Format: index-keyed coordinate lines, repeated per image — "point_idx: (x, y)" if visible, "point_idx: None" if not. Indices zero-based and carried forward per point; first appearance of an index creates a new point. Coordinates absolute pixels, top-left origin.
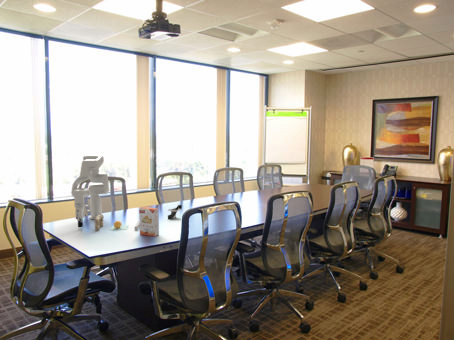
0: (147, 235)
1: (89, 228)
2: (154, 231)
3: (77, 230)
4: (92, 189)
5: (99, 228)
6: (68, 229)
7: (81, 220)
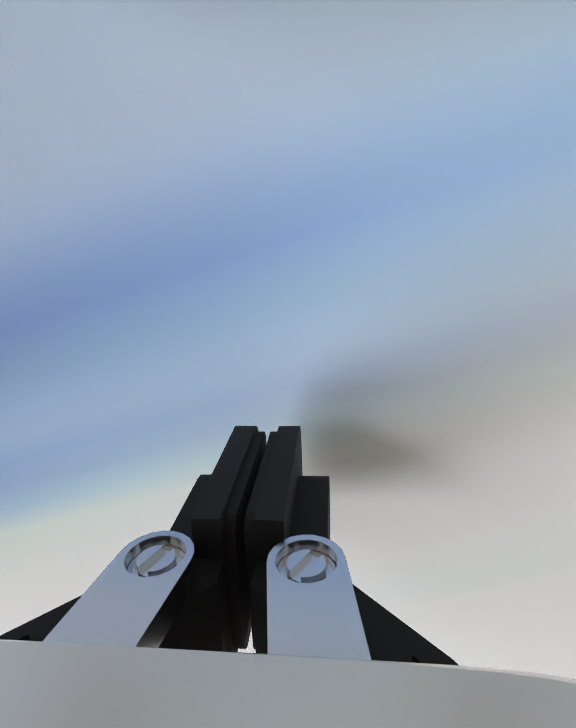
0: None
1: (249, 192)
2: None
3: (461, 479)
4: None
5: None
6: None
7: (286, 615)
